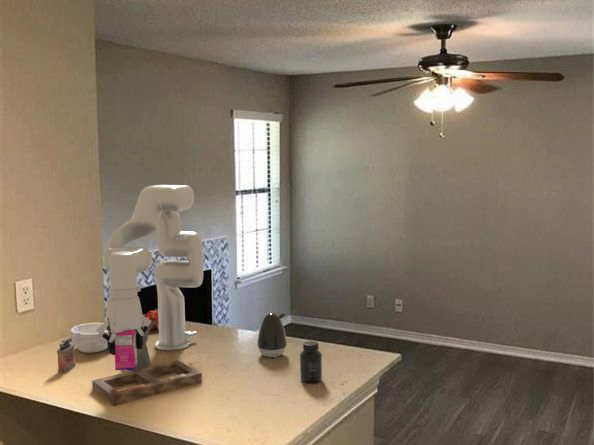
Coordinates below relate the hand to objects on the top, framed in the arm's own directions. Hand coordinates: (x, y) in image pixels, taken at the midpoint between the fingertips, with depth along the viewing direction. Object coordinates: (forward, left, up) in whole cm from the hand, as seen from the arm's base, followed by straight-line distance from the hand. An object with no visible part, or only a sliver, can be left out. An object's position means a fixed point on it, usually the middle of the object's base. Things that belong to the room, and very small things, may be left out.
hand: (125, 350), depth 195 cm
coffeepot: (-11, -19, -13) cm, 25 cm away
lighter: (+7, -31, -13) cm, 34 cm away
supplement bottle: (-49, +28, -13) cm, 58 cm away
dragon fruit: (-37, -55, -13) cm, 67 cm away
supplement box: (0, 0, -5) cm, 5 cm away
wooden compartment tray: (-7, 0, -13) cm, 14 cm away
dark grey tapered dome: (-54, +1, -13) cm, 55 cm away
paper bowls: (-8, -46, -13) cm, 48 cm away
